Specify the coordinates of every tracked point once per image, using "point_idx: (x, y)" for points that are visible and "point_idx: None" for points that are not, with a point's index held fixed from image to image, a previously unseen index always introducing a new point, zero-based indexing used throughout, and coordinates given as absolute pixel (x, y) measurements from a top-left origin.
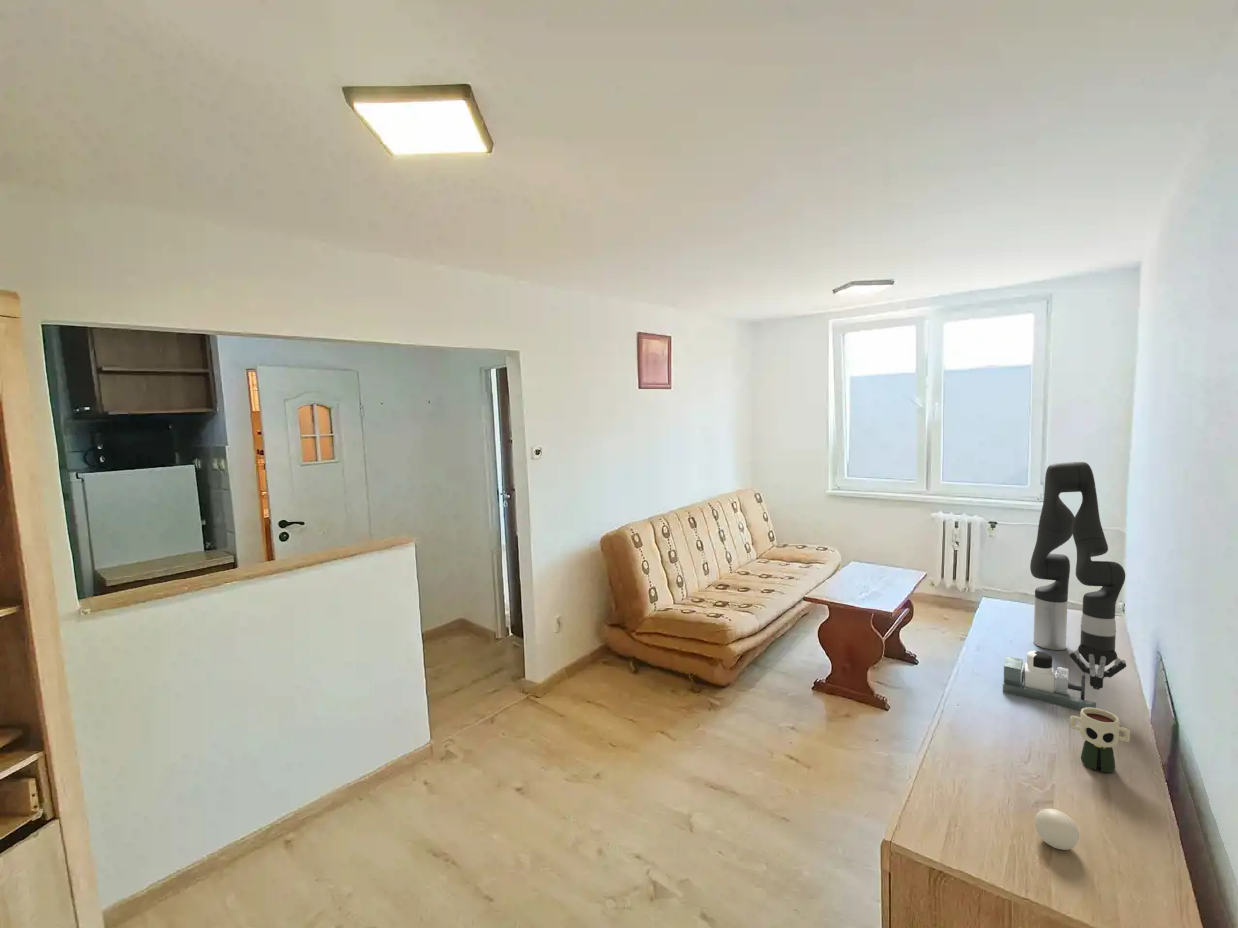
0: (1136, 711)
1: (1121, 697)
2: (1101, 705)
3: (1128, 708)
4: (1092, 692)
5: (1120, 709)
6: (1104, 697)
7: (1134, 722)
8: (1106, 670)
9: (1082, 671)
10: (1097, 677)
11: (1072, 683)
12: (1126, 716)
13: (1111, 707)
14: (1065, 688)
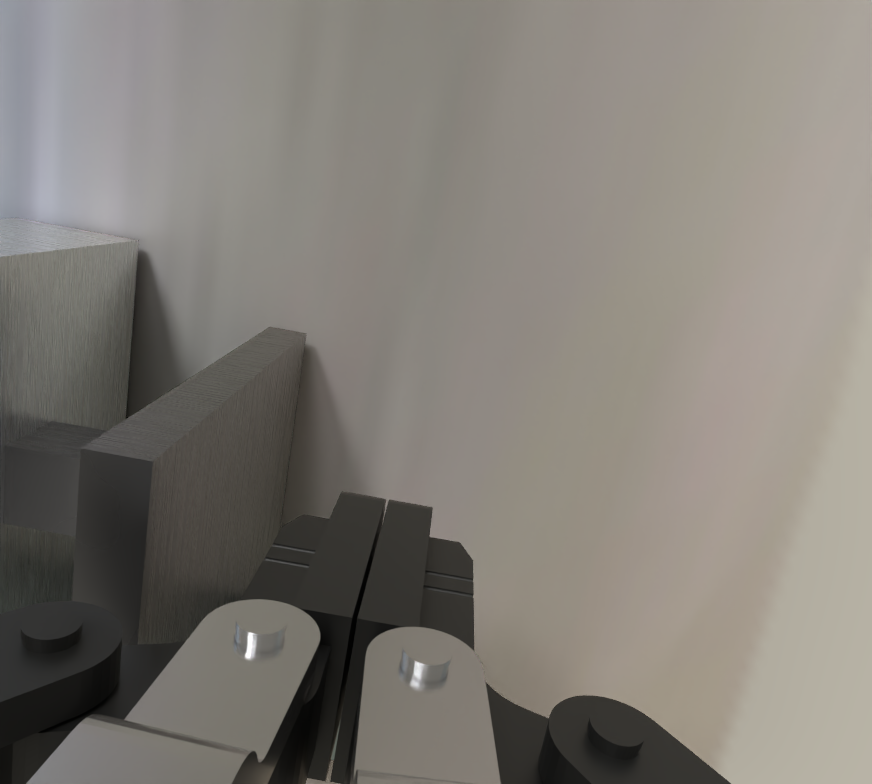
0: (801, 452)
1: (773, 84)
2: (462, 449)
3: (740, 406)
4: (441, 77)
5: (641, 471)
6: (553, 187)
7: (681, 719)
8: (566, 762)
9: (96, 487)
10: (343, 780)
11: (67, 478)
12: (648, 619)
13: (558, 457)
14: None
